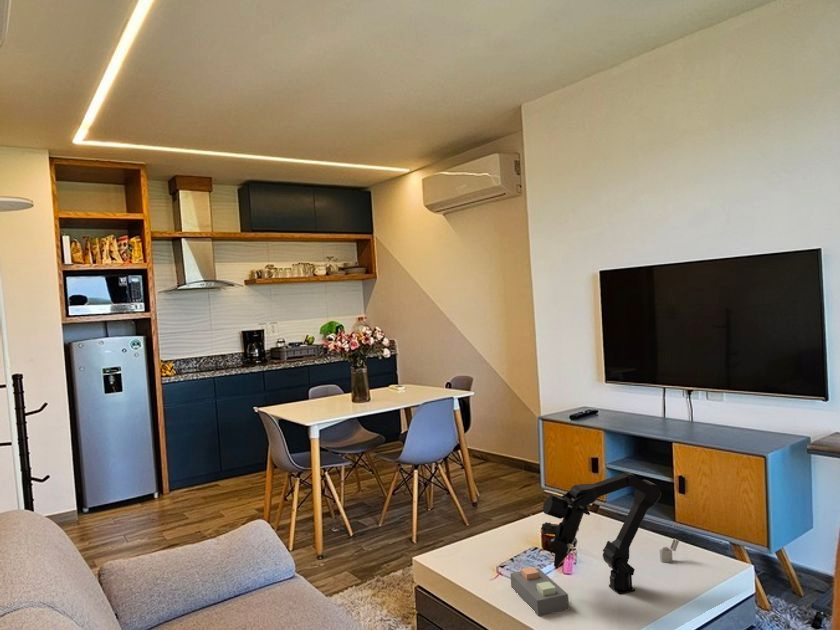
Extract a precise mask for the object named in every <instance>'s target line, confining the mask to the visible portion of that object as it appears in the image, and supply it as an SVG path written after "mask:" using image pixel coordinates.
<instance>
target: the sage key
mask: <svg viewBox="0 0 840 630" xmlns="http://www.w3.org/2000/svg"><path fill="white" fill-rule="evenodd" d="M536 585H537V591H538V592H539V593H540V594H541V595H542V596H547V595H552V594H556V587H555V586H554V585H553V584H551V583H550V582H549V581H548V582H543V583H538V584H536Z"/></svg>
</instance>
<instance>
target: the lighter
mask: <svg viewBox="0 0 840 630" xmlns="http://www.w3.org/2000/svg"><path fill="white" fill-rule="evenodd" d="M679 543H680V541H679V539H676V538H673V539H672V542H671V545H670V547H668V546H663V547H662V549H661V548H660V549H659V558H660V559H659V561H660V562H661V563H663V564H664V563H672V562H674V561H673V552H676V550H677V548H678V546H679Z"/></svg>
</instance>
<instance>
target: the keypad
mask: <svg viewBox="0 0 840 630" xmlns="http://www.w3.org/2000/svg"><path fill="white" fill-rule="evenodd" d="M535 569H536V570H537V571H538V572H539V578H538V579H533V580H527V581H526V580H525V579H524V578H523V577H522V576H521V570H520V571H516V572H511V573H510V574H509V575H510V588H511V587H512V588H513V589H514V590H515V591H514V590H513V589H512V588H511V589H512V590H513V591H514V592H515V593H516V594H517V593H518V594H517V595H518V596H519V597H520V599H522V600H523V601H524V602H526V603H527V604H528V605H529V606H530V607H531V608H532V609H533V610H534V611H535V612H534V611H533V610H532V609H531V608H530V607H529V606H528V605H527V604H526V603H525V604H526V605H527V606H528V607H529V608H530V609H531V610H532V611H533V612H534V613H535V614H536V616H538V617H540V616H539V615H541V616H545V615H544V614H546V615H549V613H550V614H555V613H558V612H564V611H567V610H570V607H569V606H570V605H569V594H568V592H566V590H564V589H563V588H562V587H561V586H559V584H557V582H555V581H554V580H552V579H551V578H550V577H549V576H548V575H547V574H546V573H545V572H544V571H543V570H542V569H540V567H537V568H535ZM548 581H549V582H550V583H551V584H553V585H554V586H555V587H556V594H552V595H547V596H542V595H541V594H540V593H539V592H538V591H537V585H536V584H538V583H543V582H548Z"/></svg>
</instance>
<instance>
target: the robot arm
mask: <svg viewBox="0 0 840 630" xmlns="http://www.w3.org/2000/svg"><path fill="white" fill-rule="evenodd" d="M629 487H632V488H633V489H634V492H633V504H632V506H631V508H630V509H629V512H628V514H627V515H626V518H625V520H624V522H623V524H622V527H621V528H620V530H619V532H618V534H617V536H616V539H614V540H613V541H609V540H607V542H606V545H605V547H604V548H603V549H602V552H603V553H602V558H603V562H605V563H606V564H607V565H608V567H609V568H610V569H611V570H610V575H609V584H608V587H609V588H611V590H613V591H614V592H616V593H617V594H618V595H622V594H627V593H630V592H631V593H632V592H635V591H636V588H634V587H633V577H632V576H634V573H635V568H634V567H632V565H630V564H629V559H630V547H631V545H632V543H633V540H634V539H635V536H636V534H637V533H638V530H639V528H640V526H641V524H642V523H643V520H644V518H645V516H646V513H647V512H648V510H649V509H651V508H652V507H653V506H655V505H656V504H657V502H658V501H659V500H660V498H661V496H662V491H661V490H662V489H661V488H660V486H659V485H657V484H655V483H653V482H651V481H650V480H647V479H641V478H639V477H638V476H636V475H635V474H633V473H631V472H629V471H624V472H623V473H621V474H618V475H614V476H612V477H610V478H609V477H608V478H606V479H604V480H600V481H596V482H593V483H581V484H580V483H579V484H574V485H572V486H571V488H570V490H568V491H567V492H566V493H565V494H563V495H561V497H560V496H556V495H554V494H552V493H550V495H549V497H547V498H546V500H544V502H543V506H542V511H543V514H545V515H546V516H547V515H548V516H550V517H554V518H557V519H560V520H561V519H562V520H561V522H559V523H558V524H557V523H551V522H547V521H546V522H544V523H542V524H541V528H540V529H541V534H542V535H554V537H553V538H550V541H549V543H548V546H549V547H551V548H553V550H554V561H553V567H555V568H558V567H559V566H560V565H561V563H563V561H564V560H565V559H567V557H568V555H570V554H571V552H572V551H573V549H572V548H571V546H572V547H573V548H576V547H577V545H578V542H579V541H578V539H577V538H576V536H577V533H578V532H579V530H580V525H581V523H582V519H583V516H584V514H585V515H586V516H587V515H588V516H590V515H591V513H590V511H589V509H588V506H589V505H592V504H593V503H595V502H596V501H597V500H598V499H599V498H601V497H603V496H605V495H608V494H611V493H614V492H616V491H620V490H622V489H625V488H629Z"/></svg>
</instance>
